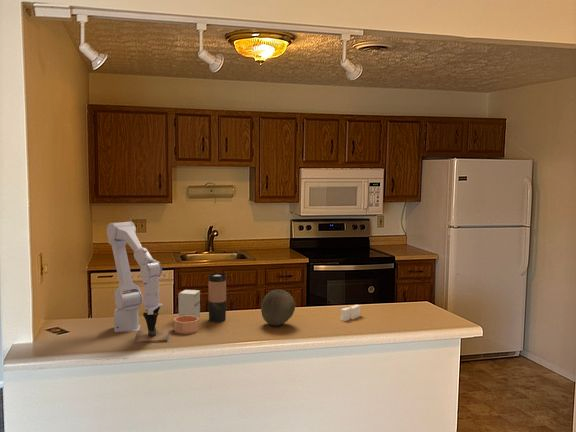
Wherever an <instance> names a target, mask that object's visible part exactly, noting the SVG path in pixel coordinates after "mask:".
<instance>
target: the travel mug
mask: <svg viewBox="0 0 576 432" xmlns="http://www.w3.org/2000/svg"><path fill="white" fill-rule="evenodd" d="M226 314H227V273H224V272H213V273H212V272H211V273H209V274H208V319H209V322H214V323H222V322H225V320H226V316H227V315H226Z"/></svg>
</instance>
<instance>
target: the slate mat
mask: <svg viewBox="0 0 576 432" xmlns="http://www.w3.org/2000/svg"><path fill="white" fill-rule="evenodd" d="M170 334H171V331H169V334H168V340H167V342H166V343H169V340H170ZM136 335H137V332H136V334H135V335H134V339H133V342H132V345H135V344H138V345H139V344H143V343H135V342H134V341H135V338H136ZM160 343H162V344H163V343H165V342H151V343H150V344H160Z"/></svg>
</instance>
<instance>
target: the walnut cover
mask: <svg viewBox="0 0 576 432" xmlns="http://www.w3.org/2000/svg"><path fill="white" fill-rule="evenodd" d="M169 332H170V330H169V329H163V330H162V329H161V330H160V329H159V330H157V327H156V326H155V329H154V331H148V330H139V331H136V333H137V335H136V334H135V336H136V338H135V337H134V339H135V341H134V340H133V342H135V343H142V344H152V343H151V342H164V343H168V342H167V340H168V334H169Z"/></svg>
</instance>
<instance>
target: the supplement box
mask: <svg viewBox="0 0 576 432" xmlns="http://www.w3.org/2000/svg"><path fill="white" fill-rule="evenodd" d="M184 315H192V316H197V317H199V319H201V290H199V289H198V290H197V289H184V290H182V291H180V292H179V293H178V316H184Z"/></svg>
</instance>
